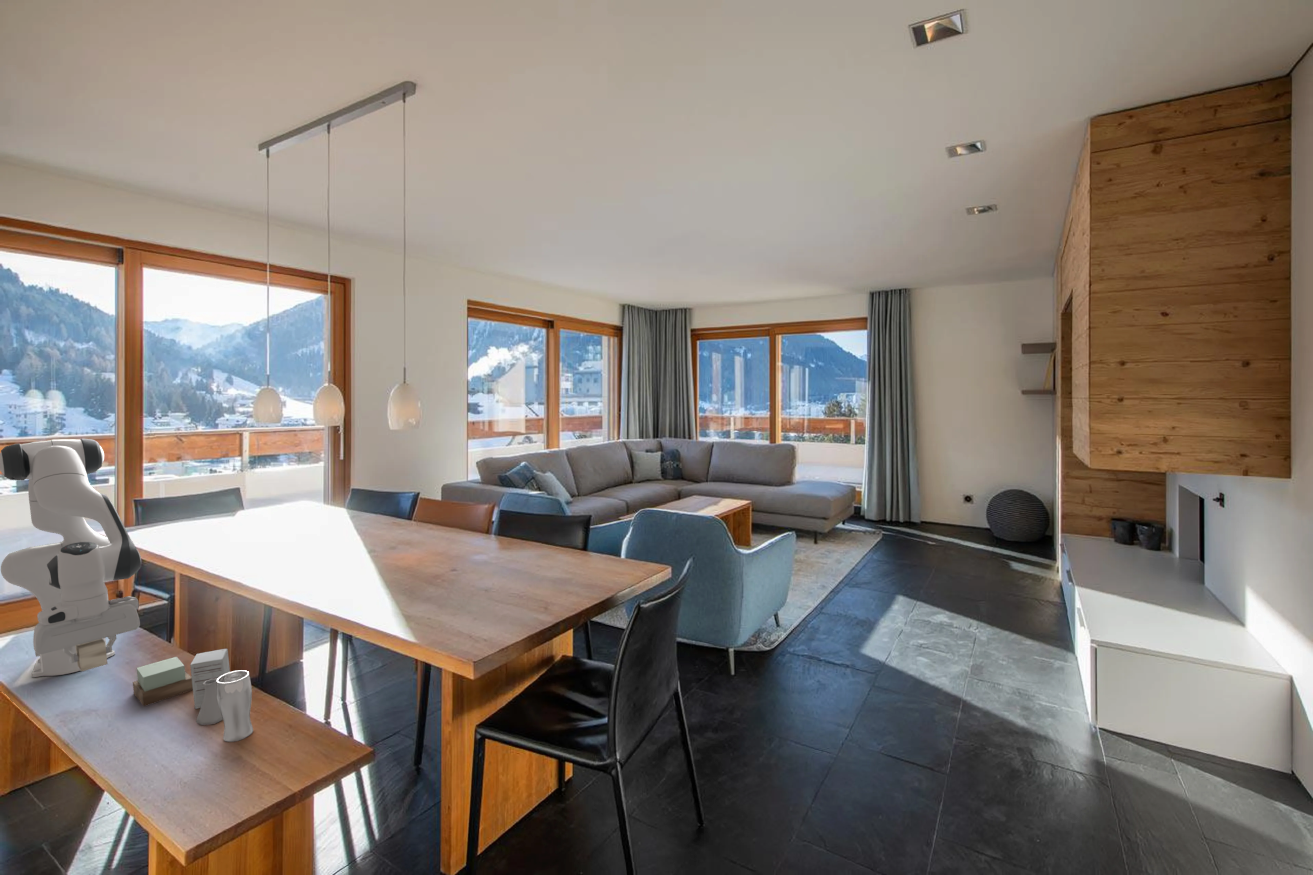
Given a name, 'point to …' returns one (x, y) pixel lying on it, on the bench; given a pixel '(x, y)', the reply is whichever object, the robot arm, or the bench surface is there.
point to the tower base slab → (162, 691)
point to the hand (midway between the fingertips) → (91, 656)
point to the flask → (209, 705)
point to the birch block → (91, 654)
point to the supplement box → (207, 671)
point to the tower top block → (160, 673)
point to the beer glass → (235, 704)
